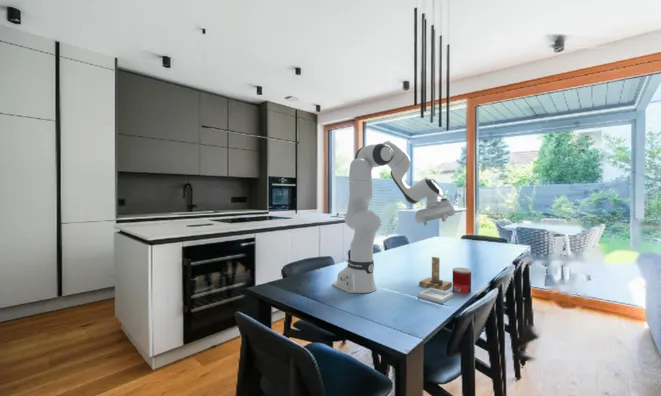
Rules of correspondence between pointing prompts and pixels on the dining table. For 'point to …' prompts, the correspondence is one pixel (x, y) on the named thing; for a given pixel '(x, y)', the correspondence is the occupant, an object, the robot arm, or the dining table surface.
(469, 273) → the canned food
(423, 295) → the tray
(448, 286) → the socket block
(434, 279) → the dowel
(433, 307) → the dining table surface
